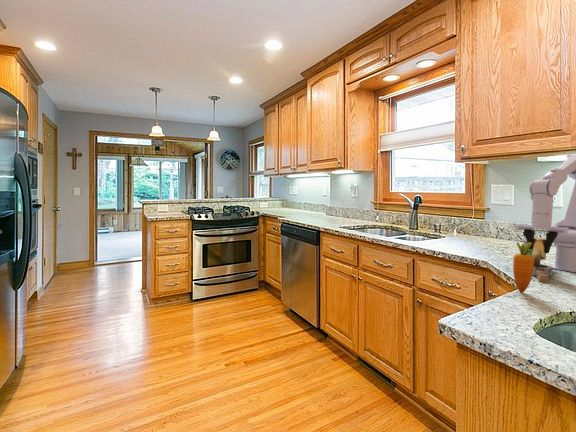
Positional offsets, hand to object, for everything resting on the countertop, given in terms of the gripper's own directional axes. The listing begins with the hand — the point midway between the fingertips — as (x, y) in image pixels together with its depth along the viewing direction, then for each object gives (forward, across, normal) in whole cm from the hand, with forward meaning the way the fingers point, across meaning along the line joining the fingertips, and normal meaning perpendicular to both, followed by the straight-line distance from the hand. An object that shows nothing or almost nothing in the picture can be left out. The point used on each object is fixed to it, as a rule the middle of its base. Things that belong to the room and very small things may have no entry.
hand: (539, 251), depth 116 cm
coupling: (+8, -2, -3) cm, 9 cm away
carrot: (+8, +3, -30) cm, 31 cm away
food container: (+8, -4, +9) cm, 13 cm away
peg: (+2, 0, 0) cm, 2 cm away
